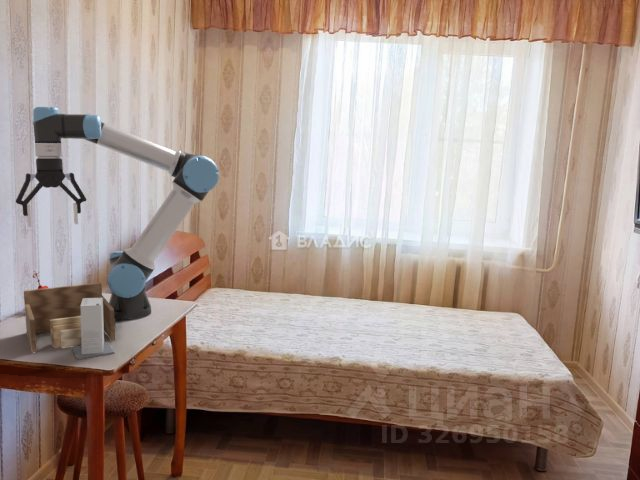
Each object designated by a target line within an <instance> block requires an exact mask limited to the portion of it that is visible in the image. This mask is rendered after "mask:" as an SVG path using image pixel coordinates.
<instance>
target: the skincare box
mask: <svg viewBox="0 0 640 480" xmlns="http://www.w3.org/2000/svg"><path fill="white" fill-rule="evenodd" d="M80 308H81V343H82V345H81V346H82V354H95V353H103V348H104V342H105V331H104V321H103V298H83V299H82V302H81V306H80Z"/></svg>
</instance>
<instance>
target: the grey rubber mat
mask: <svg viewBox="0 0 640 480" xmlns="http://www.w3.org/2000/svg"><path fill="white" fill-rule="evenodd" d="M72 351H73V353H74V355H75V357H76V359H77V360H83V359H89V358H95V357H101V356H108V355H114V354H115V351H114V349H113V348H112V346H111V344H110V343H109V342H108V341H104V348H103V353H95V354H82V345H80V346H74V347H72Z"/></svg>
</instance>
